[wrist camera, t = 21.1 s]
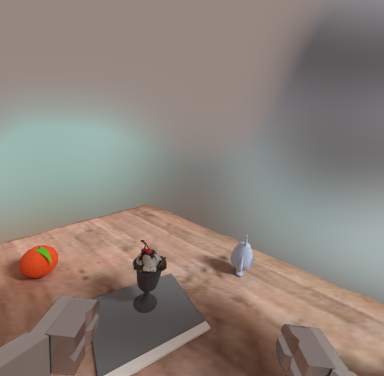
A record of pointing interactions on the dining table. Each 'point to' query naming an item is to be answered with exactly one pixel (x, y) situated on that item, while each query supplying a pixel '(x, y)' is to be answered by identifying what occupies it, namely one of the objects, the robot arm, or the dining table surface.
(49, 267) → the clementine
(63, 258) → the dining table surface
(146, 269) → the sundae
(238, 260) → the toy figure
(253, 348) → the dining table surface
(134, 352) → the mat
